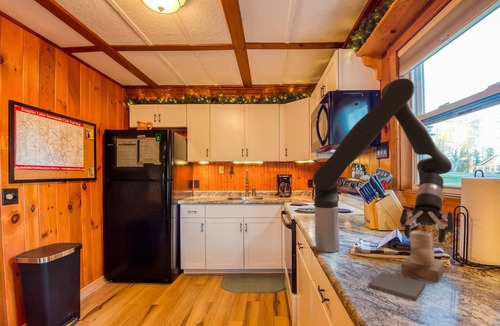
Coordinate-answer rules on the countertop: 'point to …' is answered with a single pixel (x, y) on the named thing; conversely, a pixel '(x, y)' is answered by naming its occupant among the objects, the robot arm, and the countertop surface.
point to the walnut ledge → (423, 269)
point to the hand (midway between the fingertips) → (423, 239)
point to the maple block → (422, 247)
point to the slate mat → (398, 285)
